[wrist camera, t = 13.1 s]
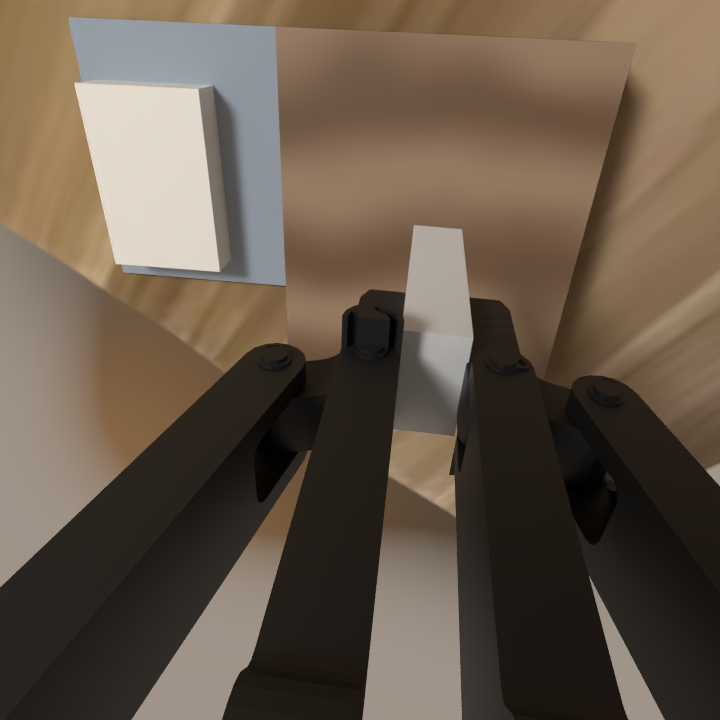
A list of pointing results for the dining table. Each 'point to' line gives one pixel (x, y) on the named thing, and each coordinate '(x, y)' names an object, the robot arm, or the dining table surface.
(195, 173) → the white rectangular block
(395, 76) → the brown wooden slab
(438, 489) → the dining table surface
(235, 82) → the mat
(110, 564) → the robot arm
